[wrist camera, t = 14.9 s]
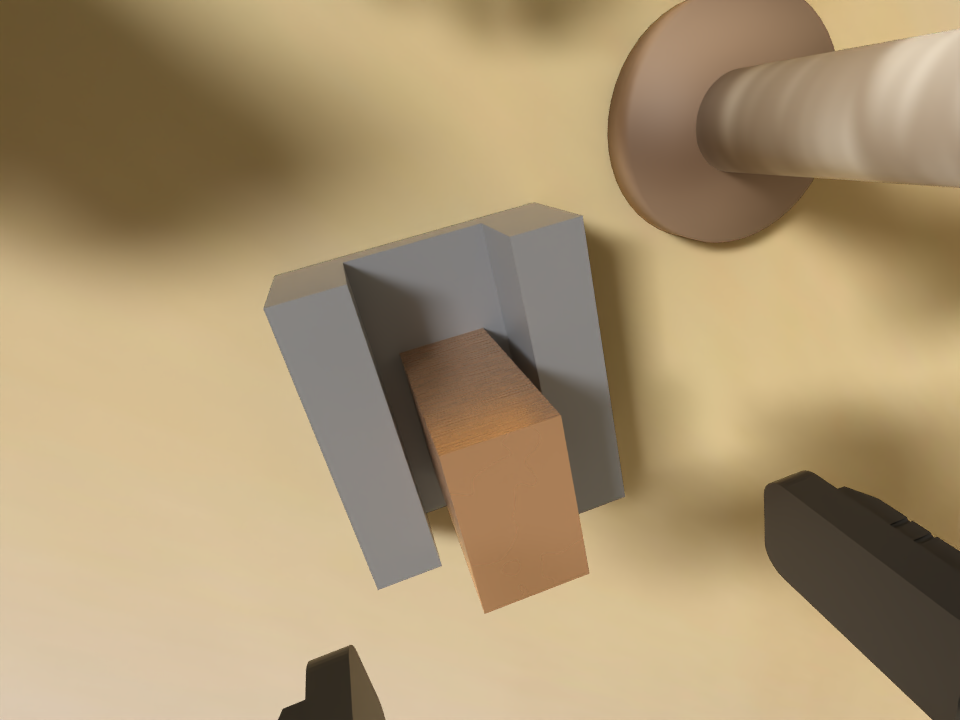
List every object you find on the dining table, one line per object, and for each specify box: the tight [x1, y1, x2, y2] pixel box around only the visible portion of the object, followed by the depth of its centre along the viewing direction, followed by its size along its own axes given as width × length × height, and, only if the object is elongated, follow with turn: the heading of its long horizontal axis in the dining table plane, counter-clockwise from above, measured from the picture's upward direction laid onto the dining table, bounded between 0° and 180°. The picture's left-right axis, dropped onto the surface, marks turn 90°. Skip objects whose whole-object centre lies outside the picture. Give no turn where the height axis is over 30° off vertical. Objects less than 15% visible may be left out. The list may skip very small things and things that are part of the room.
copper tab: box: [399, 328, 589, 613], centre depth 17 cm, size 5×3×7 cm, turn 13°
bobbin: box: [608, 0, 960, 243], centre depth 14 cm, size 8×8×14 cm
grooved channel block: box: [264, 203, 625, 590], centre depth 19 cm, size 10×9×4 cm
